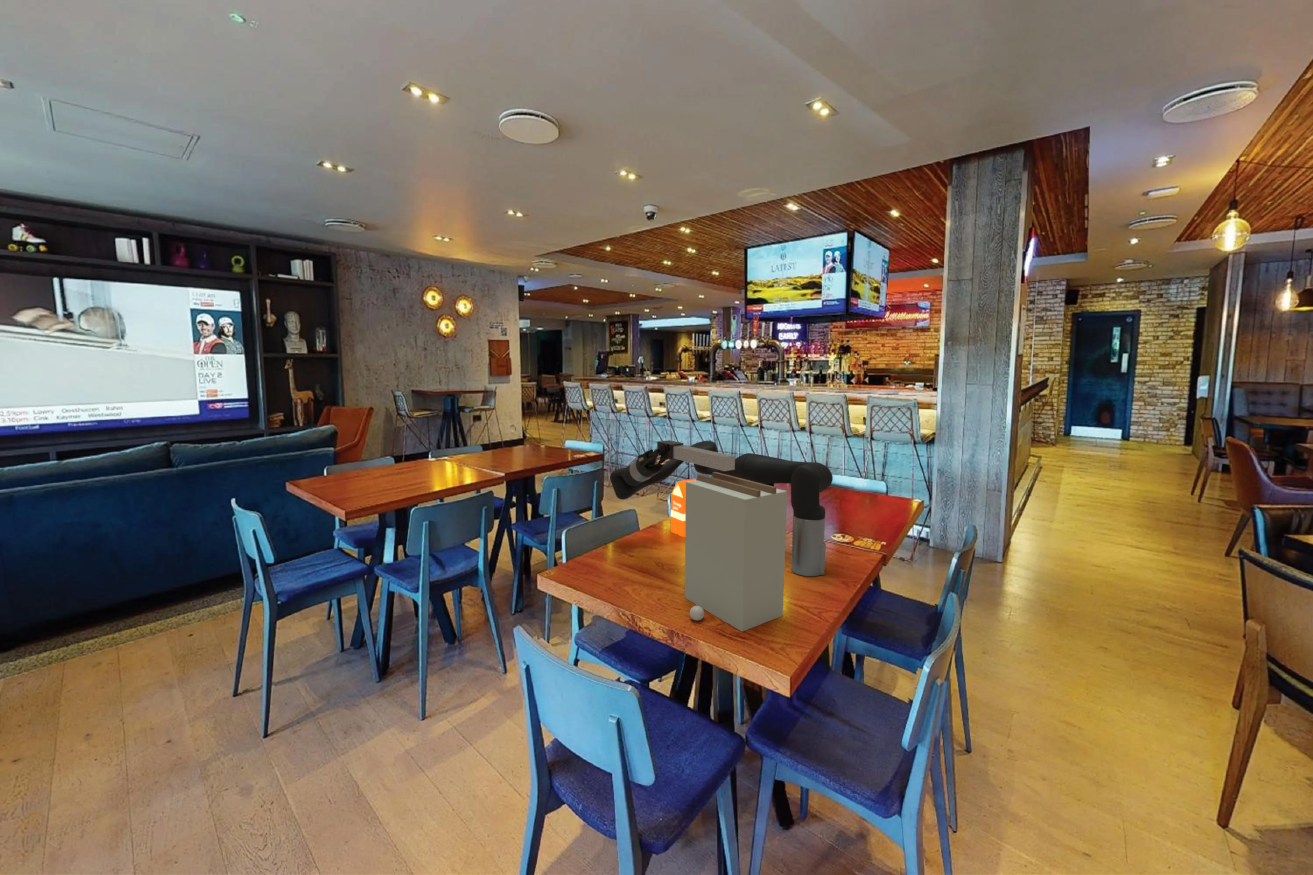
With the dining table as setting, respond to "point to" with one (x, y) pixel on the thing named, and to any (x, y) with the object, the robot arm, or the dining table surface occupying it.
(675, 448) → the rod
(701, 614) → the white ball
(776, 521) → the stand
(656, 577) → the dining table surface
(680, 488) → the orange juice
